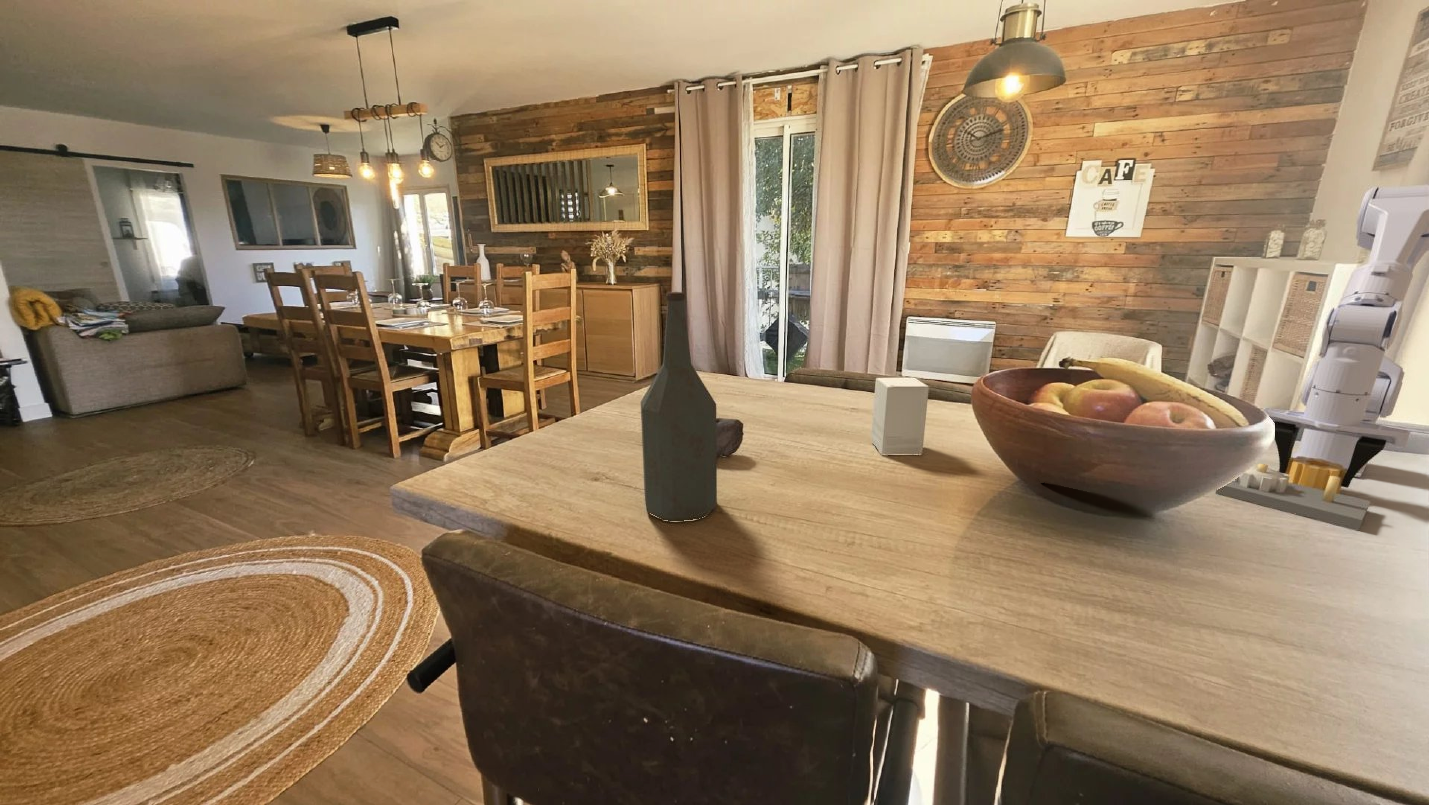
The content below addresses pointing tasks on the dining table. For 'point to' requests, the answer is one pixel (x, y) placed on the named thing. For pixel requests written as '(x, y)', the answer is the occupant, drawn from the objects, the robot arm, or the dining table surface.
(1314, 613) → the dining table surface
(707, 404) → the bottle
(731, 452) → the dark brown rounded piece
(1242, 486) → the gear board
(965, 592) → the dining table surface
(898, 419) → the supplement box
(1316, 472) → the amber gear
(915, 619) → the dining table surface
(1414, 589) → the dining table surface
